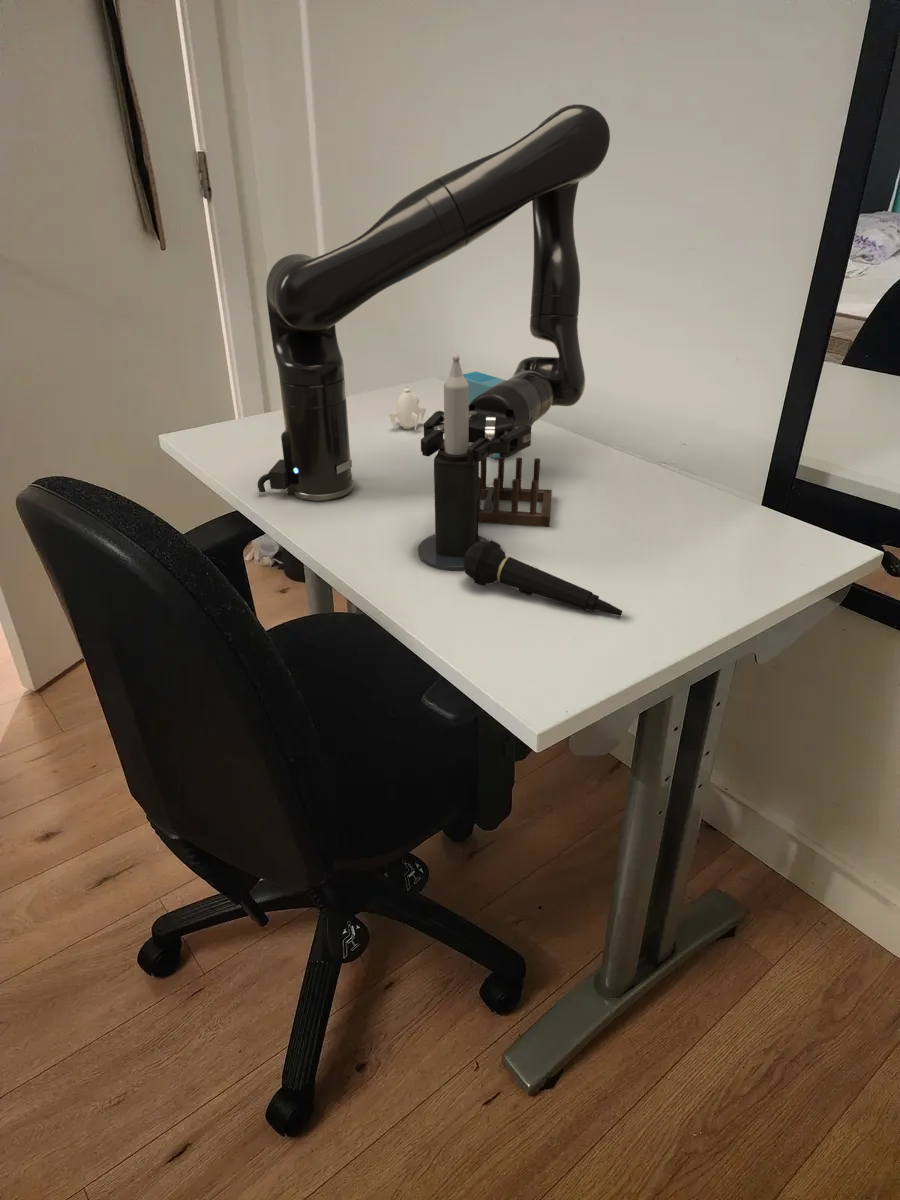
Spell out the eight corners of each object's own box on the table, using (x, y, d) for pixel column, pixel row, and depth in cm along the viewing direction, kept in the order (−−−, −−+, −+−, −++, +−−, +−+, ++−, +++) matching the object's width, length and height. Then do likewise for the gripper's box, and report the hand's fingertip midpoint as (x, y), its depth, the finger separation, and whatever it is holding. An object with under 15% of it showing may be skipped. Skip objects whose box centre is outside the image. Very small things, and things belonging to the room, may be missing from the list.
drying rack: (450, 521, 113) (450, 478, 110) (458, 494, 121) (458, 454, 118) (549, 526, 112) (552, 483, 108) (551, 499, 120) (554, 458, 116)
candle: (472, 558, 102) (473, 361, 89) (433, 554, 103) (429, 359, 90) (479, 540, 107) (481, 349, 93) (442, 537, 107) (439, 348, 94)
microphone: (619, 631, 94) (469, 574, 101) (634, 585, 92) (480, 531, 99) (607, 641, 89) (451, 581, 96) (624, 594, 88) (463, 536, 94)
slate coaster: (411, 568, 101) (411, 564, 101) (424, 533, 110) (424, 529, 110) (490, 573, 100) (490, 568, 100) (496, 537, 109) (497, 533, 108)
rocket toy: (426, 424, 149) (425, 382, 145) (418, 433, 145) (417, 390, 141) (398, 422, 150) (397, 379, 146) (389, 431, 146) (388, 388, 142)
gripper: (457, 378, 109) (393, 413, 97) (556, 391, 104) (502, 431, 91) (457, 431, 113) (396, 472, 100) (552, 447, 107) (500, 492, 95)
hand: (447, 452), depth 96 cm, fingers closed on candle, 5 cm apart
